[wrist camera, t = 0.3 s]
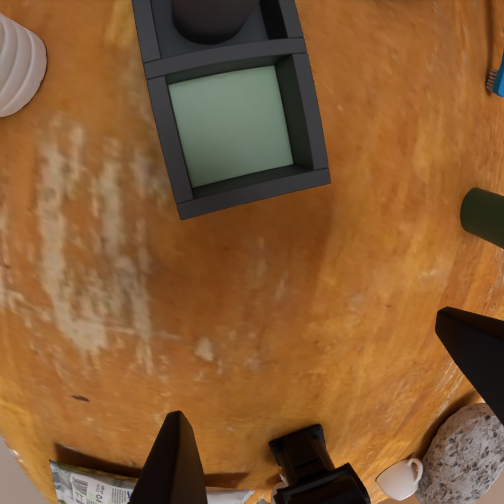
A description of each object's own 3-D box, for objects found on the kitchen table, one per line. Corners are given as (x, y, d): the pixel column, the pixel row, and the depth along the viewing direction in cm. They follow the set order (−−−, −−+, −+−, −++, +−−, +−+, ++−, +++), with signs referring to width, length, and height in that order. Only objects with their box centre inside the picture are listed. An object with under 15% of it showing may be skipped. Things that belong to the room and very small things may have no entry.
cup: (406, 501, 42) (392, 479, 48) (440, 472, 40) (423, 449, 46) (383, 509, 39) (368, 484, 46) (419, 479, 37) (401, 453, 43)
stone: (440, 499, 44) (385, 510, 44) (452, 406, 55) (400, 410, 55) (507, 514, 24) (448, 540, 23) (524, 394, 34) (471, 403, 34)
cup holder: (306, 174, 22) (331, 183, 18) (180, 205, 21) (180, 221, 17) (259, -39, 15) (274, -65, 12) (132, -20, 14) (125, -46, 10)
